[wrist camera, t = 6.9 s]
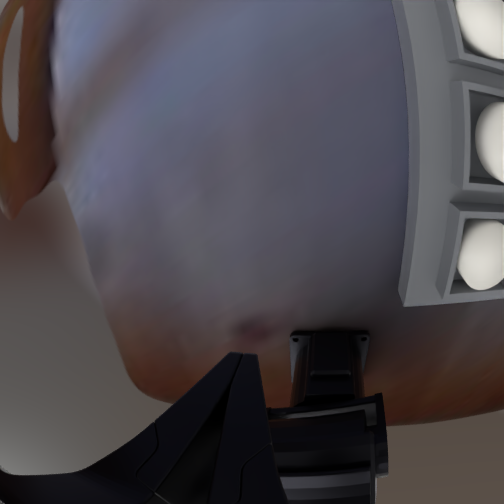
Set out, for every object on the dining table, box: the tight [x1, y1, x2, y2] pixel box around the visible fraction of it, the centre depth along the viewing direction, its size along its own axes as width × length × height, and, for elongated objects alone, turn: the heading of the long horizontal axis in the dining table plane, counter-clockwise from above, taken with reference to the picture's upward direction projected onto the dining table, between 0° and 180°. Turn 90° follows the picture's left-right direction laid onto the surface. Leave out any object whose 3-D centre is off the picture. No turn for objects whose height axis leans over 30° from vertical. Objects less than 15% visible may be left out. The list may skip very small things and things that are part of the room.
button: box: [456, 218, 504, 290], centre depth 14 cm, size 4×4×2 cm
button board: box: [391, 0, 504, 307], centre depth 12 cm, size 23×10×4 cm, turn 7°
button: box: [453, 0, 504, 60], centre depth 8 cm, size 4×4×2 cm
